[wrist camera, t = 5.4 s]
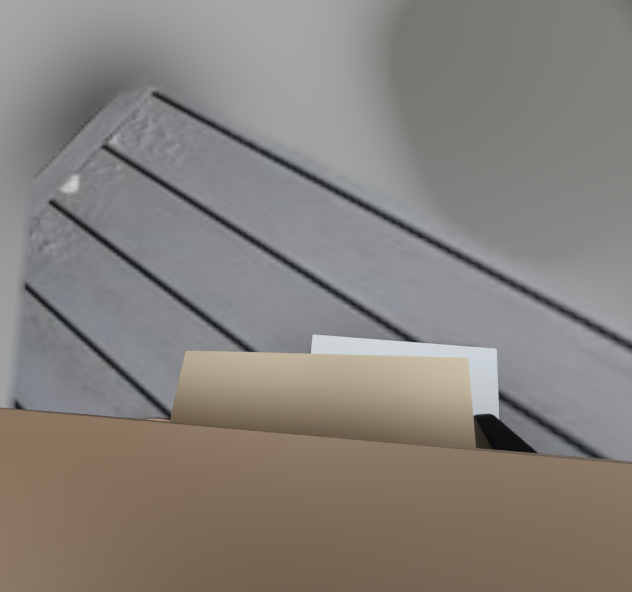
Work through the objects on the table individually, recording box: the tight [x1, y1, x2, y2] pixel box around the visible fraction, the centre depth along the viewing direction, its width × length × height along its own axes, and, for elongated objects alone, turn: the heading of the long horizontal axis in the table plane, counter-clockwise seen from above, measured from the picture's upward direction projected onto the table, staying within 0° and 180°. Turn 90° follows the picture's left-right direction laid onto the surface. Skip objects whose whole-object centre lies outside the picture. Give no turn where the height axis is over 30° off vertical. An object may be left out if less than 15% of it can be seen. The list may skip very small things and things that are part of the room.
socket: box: [311, 335, 499, 419], centre depth 19 cm, size 10×10×3 cm
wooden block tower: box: [0, 351, 632, 592], centre depth 9 cm, size 4×8×15 cm, turn 87°
